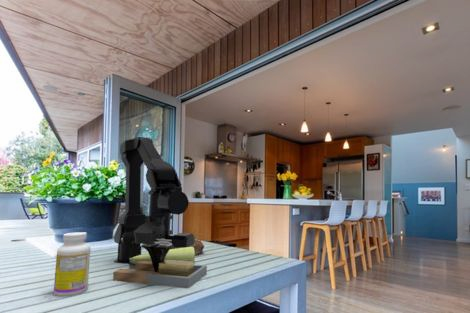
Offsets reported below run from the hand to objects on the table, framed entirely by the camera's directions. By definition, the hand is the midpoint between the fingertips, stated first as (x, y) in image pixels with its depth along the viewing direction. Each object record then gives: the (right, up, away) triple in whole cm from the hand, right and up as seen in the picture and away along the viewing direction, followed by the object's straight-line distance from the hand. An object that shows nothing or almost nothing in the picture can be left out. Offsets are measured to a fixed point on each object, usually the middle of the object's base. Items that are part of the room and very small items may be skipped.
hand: (156, 271), depth 74 cm
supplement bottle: (-16, 0, -11) cm, 20 cm away
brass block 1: (+4, -1, -1) cm, 4 cm away
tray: (+6, -1, -2) cm, 6 cm away
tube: (+8, -1, +16) cm, 18 cm away
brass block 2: (+7, -1, -2) cm, 8 cm away
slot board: (-4, -2, +1) cm, 4 cm away
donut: (+2, -6, +29) cm, 30 cm away
